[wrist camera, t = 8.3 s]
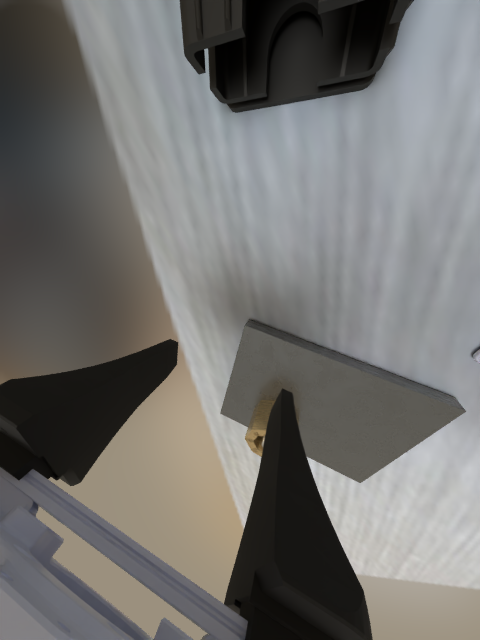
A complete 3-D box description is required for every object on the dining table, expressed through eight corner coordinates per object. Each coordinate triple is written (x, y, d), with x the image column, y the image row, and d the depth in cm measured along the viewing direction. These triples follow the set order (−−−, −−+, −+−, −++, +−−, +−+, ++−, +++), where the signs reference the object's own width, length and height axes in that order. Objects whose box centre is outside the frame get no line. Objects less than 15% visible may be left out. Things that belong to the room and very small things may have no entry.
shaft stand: (454, 397, 17) (508, 463, 12) (358, 470, 25) (368, 525, 20) (249, 319, 20) (230, 346, 16) (224, 405, 29) (207, 439, 24)
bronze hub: (305, 415, 22) (303, 450, 18) (285, 435, 25) (280, 468, 21) (265, 393, 22) (257, 422, 19) (250, 414, 25) (240, 444, 22)
